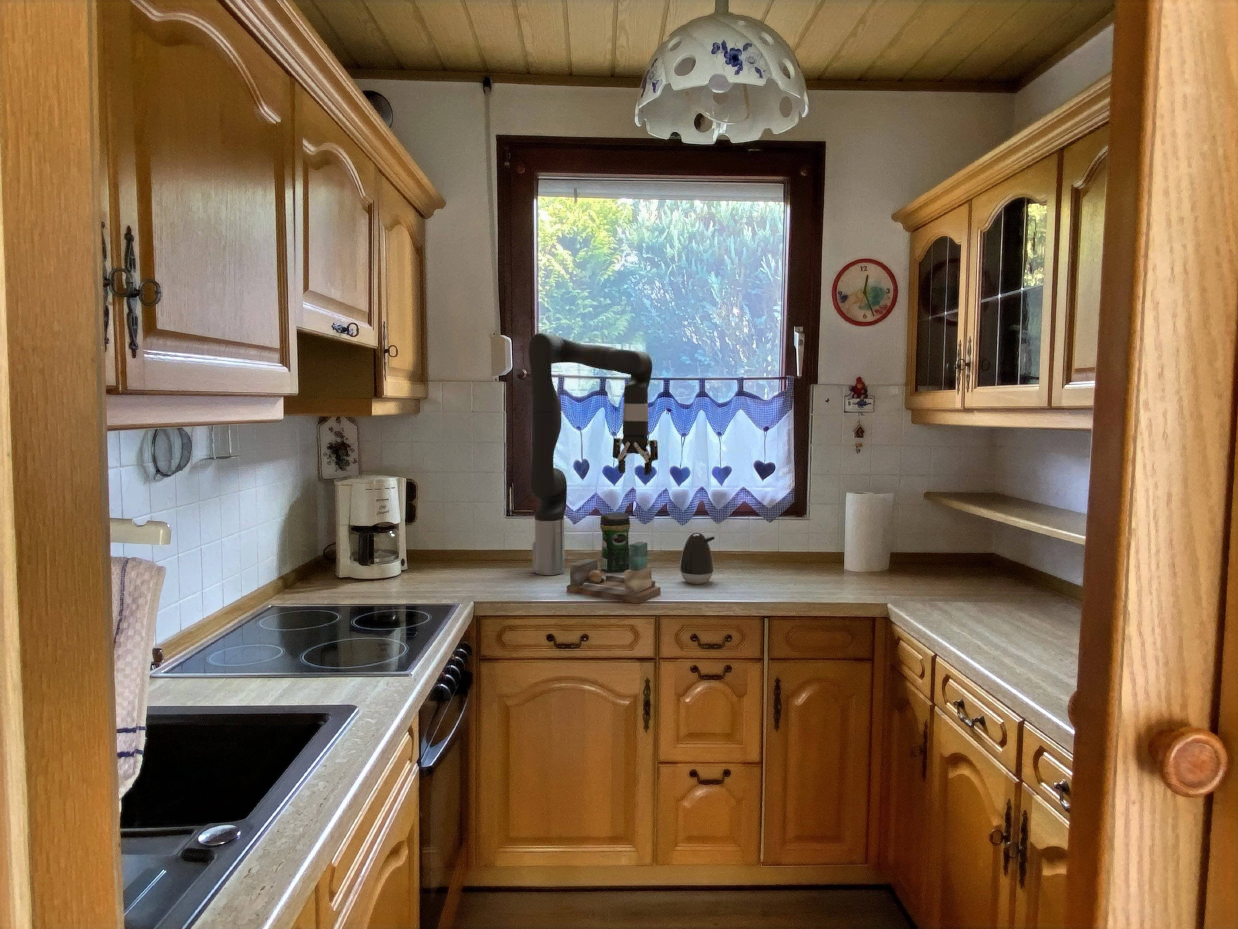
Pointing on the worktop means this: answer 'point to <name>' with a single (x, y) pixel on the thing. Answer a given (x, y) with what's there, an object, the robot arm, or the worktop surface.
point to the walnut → (595, 576)
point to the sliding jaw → (638, 568)
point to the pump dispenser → (697, 559)
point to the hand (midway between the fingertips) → (634, 474)
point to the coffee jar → (615, 542)
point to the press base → (605, 584)
